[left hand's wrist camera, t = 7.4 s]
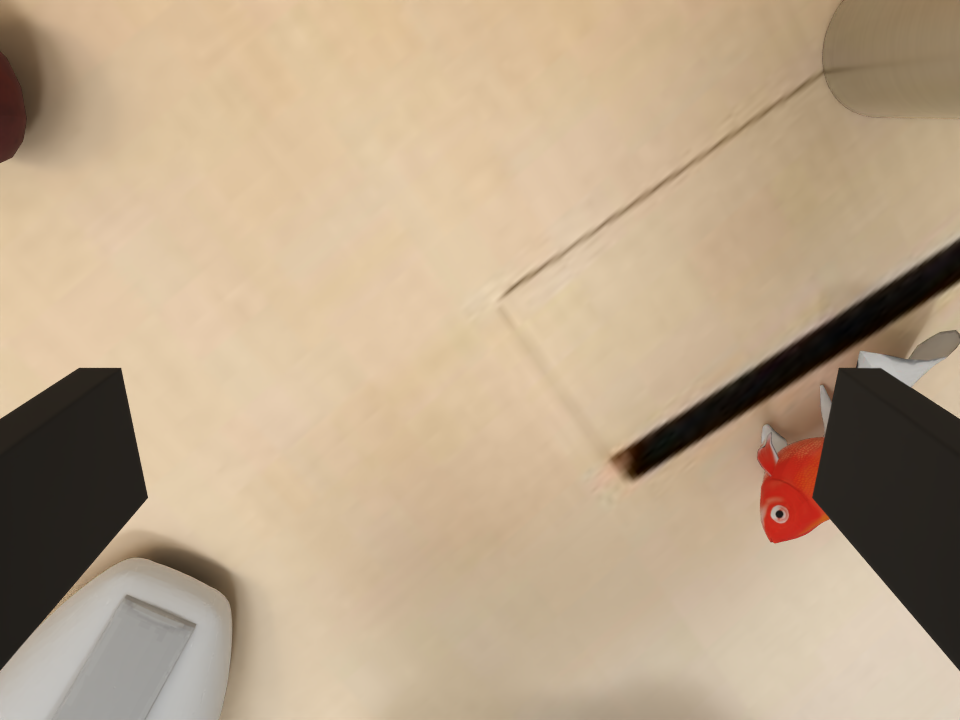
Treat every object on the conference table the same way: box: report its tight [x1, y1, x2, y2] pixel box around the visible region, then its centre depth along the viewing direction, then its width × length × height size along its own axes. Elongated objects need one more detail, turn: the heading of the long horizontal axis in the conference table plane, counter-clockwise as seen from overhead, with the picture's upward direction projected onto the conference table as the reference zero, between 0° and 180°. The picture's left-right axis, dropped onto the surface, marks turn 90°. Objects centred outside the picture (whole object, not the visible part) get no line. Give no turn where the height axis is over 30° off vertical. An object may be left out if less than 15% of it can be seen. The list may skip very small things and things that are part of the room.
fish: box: [757, 330, 960, 543], centre depth 39 cm, size 11×16×10 cm
